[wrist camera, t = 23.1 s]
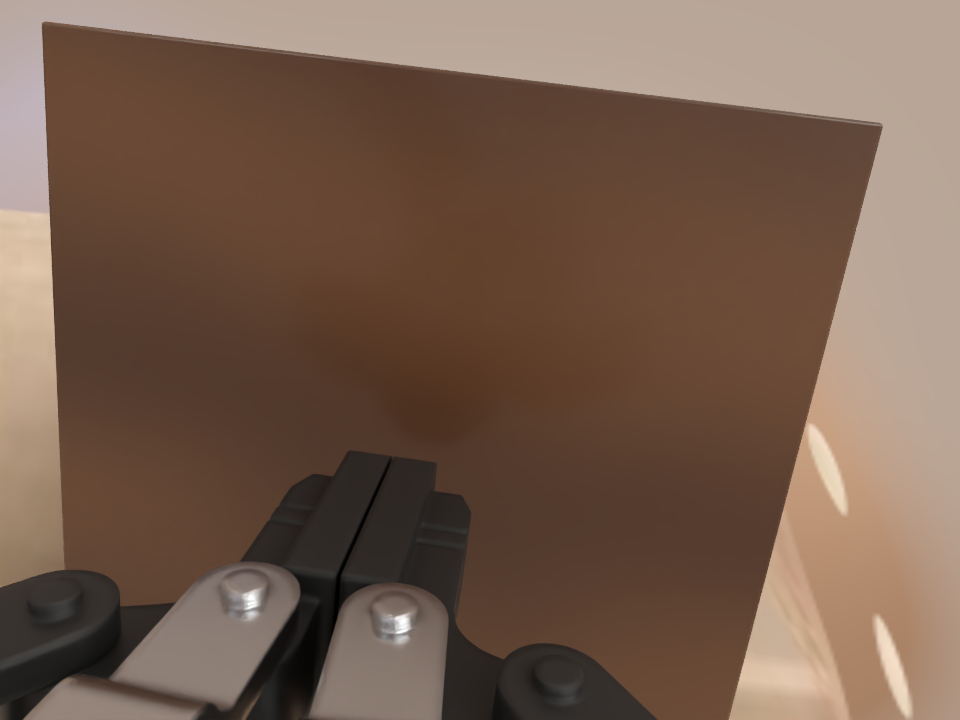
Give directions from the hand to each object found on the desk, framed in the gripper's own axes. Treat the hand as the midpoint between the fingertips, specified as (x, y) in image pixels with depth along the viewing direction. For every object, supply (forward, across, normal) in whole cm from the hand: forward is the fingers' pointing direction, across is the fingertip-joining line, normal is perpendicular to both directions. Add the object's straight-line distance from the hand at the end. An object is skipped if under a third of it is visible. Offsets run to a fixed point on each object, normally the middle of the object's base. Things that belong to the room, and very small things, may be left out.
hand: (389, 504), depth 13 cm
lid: (+3, 0, 0) cm, 3 cm away
